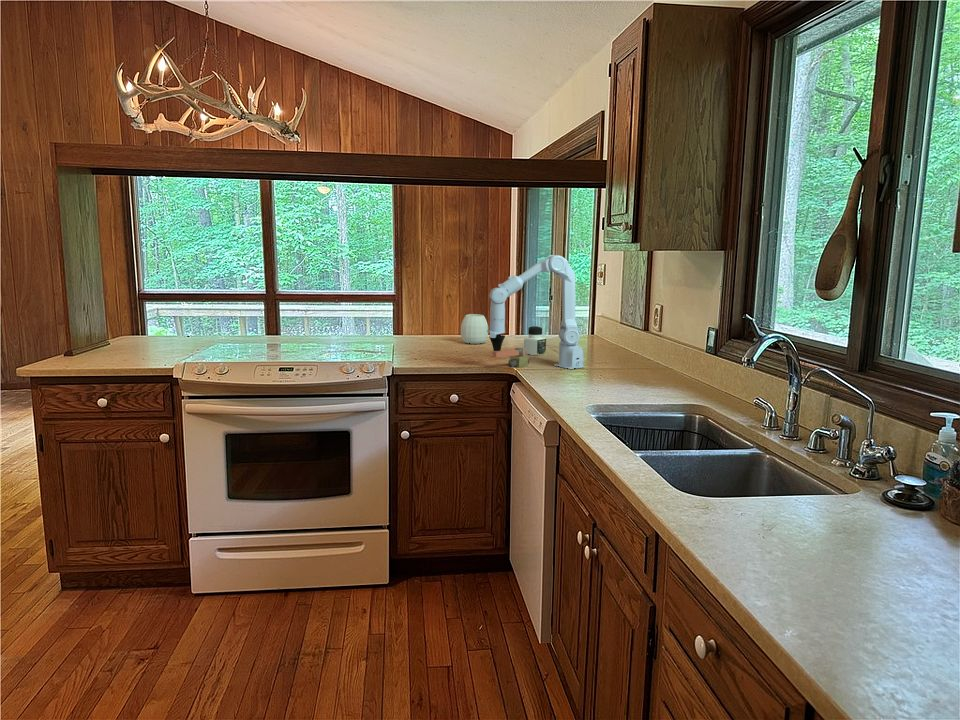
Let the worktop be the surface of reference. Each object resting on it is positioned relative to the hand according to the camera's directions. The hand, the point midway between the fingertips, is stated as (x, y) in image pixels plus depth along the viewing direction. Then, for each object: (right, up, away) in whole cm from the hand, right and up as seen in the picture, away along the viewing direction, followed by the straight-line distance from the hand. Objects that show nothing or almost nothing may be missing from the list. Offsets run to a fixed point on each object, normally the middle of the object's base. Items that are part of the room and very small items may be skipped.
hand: (496, 353), depth 264 cm
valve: (+9, -5, +4) cm, 11 cm away
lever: (+5, -1, 0) cm, 5 cm away
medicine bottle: (+17, 0, +33) cm, 37 cm away
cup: (-9, +5, +61) cm, 62 cm away
